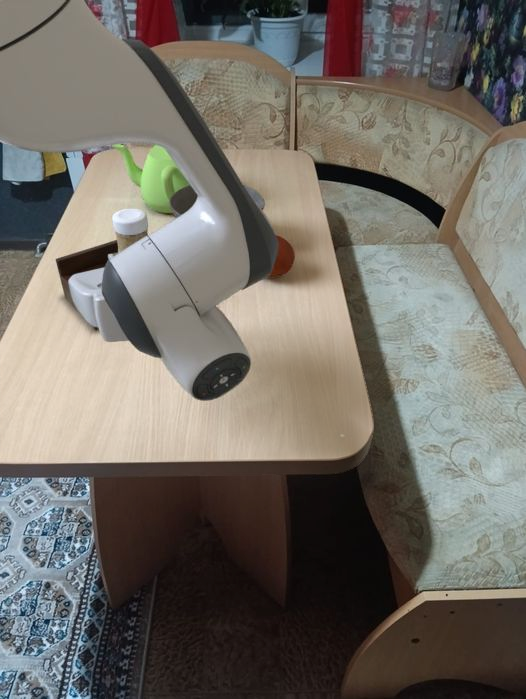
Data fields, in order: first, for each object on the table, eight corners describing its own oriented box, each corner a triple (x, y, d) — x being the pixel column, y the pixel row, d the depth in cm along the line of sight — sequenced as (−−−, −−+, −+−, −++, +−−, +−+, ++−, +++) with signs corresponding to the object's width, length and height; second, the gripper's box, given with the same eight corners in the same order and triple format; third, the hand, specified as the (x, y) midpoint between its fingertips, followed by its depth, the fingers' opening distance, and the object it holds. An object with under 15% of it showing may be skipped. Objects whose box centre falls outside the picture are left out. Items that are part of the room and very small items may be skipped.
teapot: (233, 204, 129) (232, 142, 119) (162, 229, 118) (155, 163, 109) (186, 179, 139) (182, 121, 130) (118, 200, 129) (108, 138, 120)
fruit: (247, 285, 101) (247, 247, 96) (248, 261, 108) (248, 224, 103) (294, 287, 101) (297, 248, 96) (292, 262, 108) (295, 225, 103)
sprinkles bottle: (163, 300, 80) (153, 215, 72) (137, 311, 78) (123, 225, 69) (145, 287, 83) (134, 204, 74) (119, 298, 80) (105, 213, 72)
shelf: (94, 330, 90) (85, 290, 85) (65, 298, 97) (55, 258, 92) (177, 297, 98) (173, 259, 93) (144, 270, 105) (139, 232, 100)
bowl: (264, 268, 106) (265, 221, 100) (168, 267, 106) (163, 220, 99) (263, 224, 121) (264, 181, 114) (178, 223, 120) (174, 179, 114)
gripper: (243, 261, 69) (200, 218, 78) (81, 302, 61) (54, 248, 70) (243, 302, 73) (202, 256, 82) (91, 346, 65) (64, 290, 74)
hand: (133, 253), depth 76 cm, fingers closed on sprinkles bottle, 4 cm apart
